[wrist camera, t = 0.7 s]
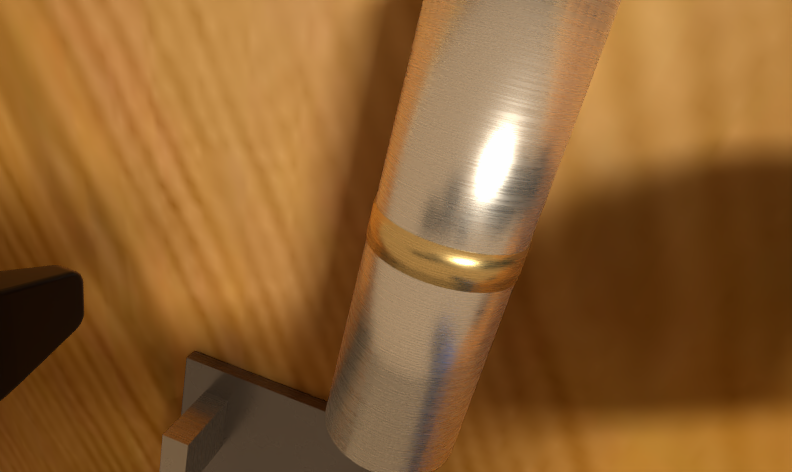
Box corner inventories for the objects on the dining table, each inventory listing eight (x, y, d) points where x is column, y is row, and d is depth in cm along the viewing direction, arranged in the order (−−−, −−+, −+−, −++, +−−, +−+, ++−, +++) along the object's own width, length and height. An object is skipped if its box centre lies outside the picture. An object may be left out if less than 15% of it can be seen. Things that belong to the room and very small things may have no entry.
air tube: (617, -6, 15) (646, -32, 11) (464, 406, 22) (440, 502, 17) (454, -45, 16) (416, -84, 12) (352, 362, 22) (300, 442, 18)
